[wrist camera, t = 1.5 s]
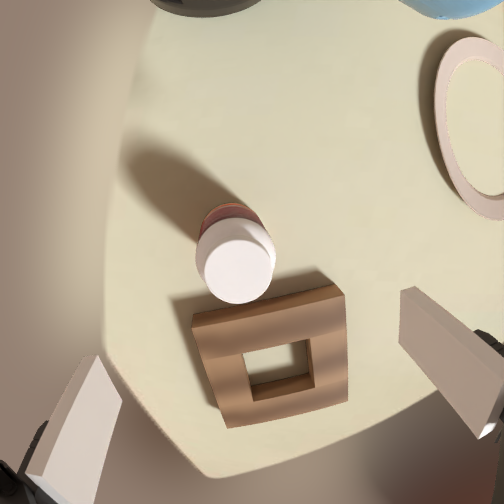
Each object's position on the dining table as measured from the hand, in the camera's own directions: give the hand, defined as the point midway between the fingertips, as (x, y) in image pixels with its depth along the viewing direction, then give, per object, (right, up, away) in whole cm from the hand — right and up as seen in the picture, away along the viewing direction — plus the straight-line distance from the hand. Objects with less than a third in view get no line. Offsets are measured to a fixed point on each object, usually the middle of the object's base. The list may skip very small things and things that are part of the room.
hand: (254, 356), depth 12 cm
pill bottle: (-2, +6, +20) cm, 21 cm away
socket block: (+3, -8, +24) cm, 26 cm away
